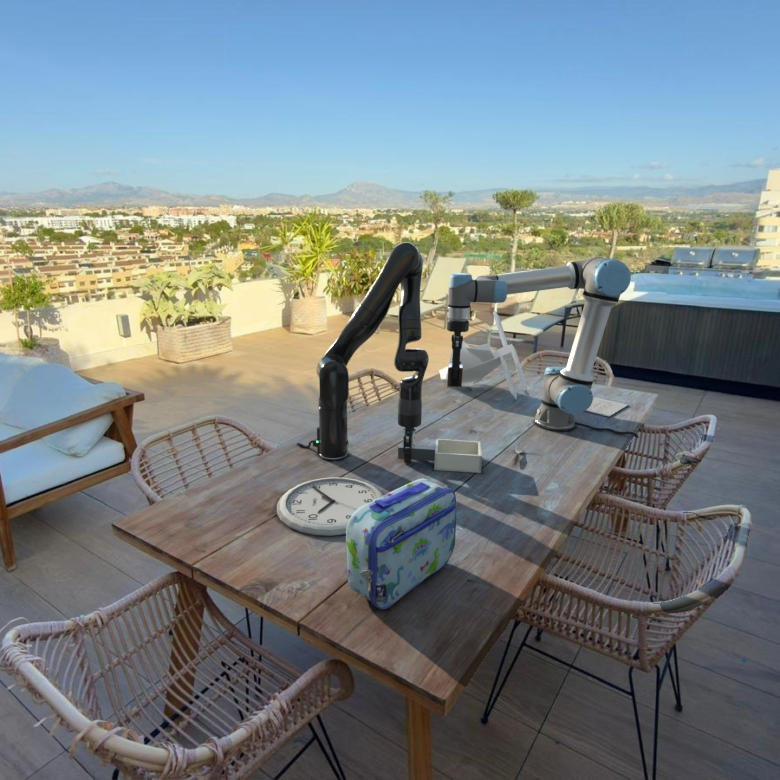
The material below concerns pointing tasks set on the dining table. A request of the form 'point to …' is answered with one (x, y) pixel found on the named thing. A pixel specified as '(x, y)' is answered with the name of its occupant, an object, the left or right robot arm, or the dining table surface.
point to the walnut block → (450, 375)
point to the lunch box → (400, 540)
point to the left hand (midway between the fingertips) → (408, 458)
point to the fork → (518, 452)
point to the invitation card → (605, 407)
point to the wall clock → (324, 504)
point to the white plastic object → (487, 361)
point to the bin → (449, 455)
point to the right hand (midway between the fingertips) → (454, 384)
